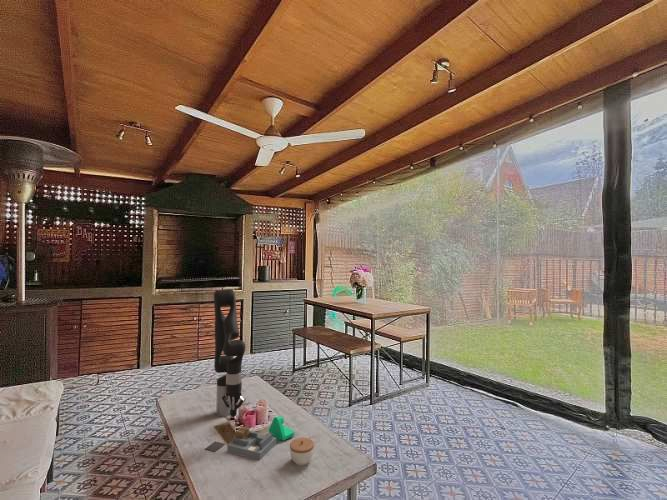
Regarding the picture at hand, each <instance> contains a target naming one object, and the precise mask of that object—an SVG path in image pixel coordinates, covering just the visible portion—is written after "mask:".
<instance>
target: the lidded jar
mask: <svg viewBox="0 0 667 500" xmlns="http://www.w3.org/2000/svg"><path fill="white" fill-rule="evenodd" d="M314 448H315V442H314V441H313V440H312V439H311V438H308V437H298V438H295V439H293V440H292V441H291V442H290V444H289V449H290V450H289V452H290V453H289V454H290V458H291V460H292V461H293V462H294V464H295V465H298V466H301V467H302V466H303V467H304V466H306V465H308V464H309V462H310V461H311V460H312V459H313V456H314V450H315V449H314Z"/></svg>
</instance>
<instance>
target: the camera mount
mask: <svg viewBox="0 0 667 500" xmlns="http://www.w3.org/2000/svg"><path fill="white" fill-rule="evenodd" d="M284 423H285V419H284V416H282V415H280V414H279V415H277V416H275V417H273V419H272V422H271V424H270V426H269V428H268V432H269V434H270V433H271V434H272V437H275V438H276V440H281V441H285V440H288V439H291V438H292V437H294V436H295V431H294V430H292V429H291V428H289V427H287V426H286V425H285V424H284Z"/></svg>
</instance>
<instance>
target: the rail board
mask: <svg viewBox="0 0 667 500" xmlns="http://www.w3.org/2000/svg"><path fill="white" fill-rule="evenodd" d="M256 445H259V447H256ZM276 445H277V438H275V437H274V436H273V434H272V433H270V432H269V434H267V435H266V434H261V433H259V432H256V431H252V430H249V438H248V439H247V440H245V439H240V438H236V436H233V437H232V441H231V442H230V443H228V444H227V446H226V447H227V452H228V453H232V454H237V455H239V456H244V457H247V458H251V459H254V460H262V459H263V458H264V457H265V456H266V455H267V454H268V453H269V452H270V451H271V450H272V449H273V448H274V447H275V446H276Z"/></svg>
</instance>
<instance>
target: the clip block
mask: <svg viewBox="0 0 667 500" xmlns="http://www.w3.org/2000/svg"><path fill="white" fill-rule="evenodd" d="M249 431H250V428H249V427H247V426H241V427H239V428H238V429H237V430H236V431H235V437H236V438H240V439H245V440H247V439H248V438H249Z"/></svg>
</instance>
